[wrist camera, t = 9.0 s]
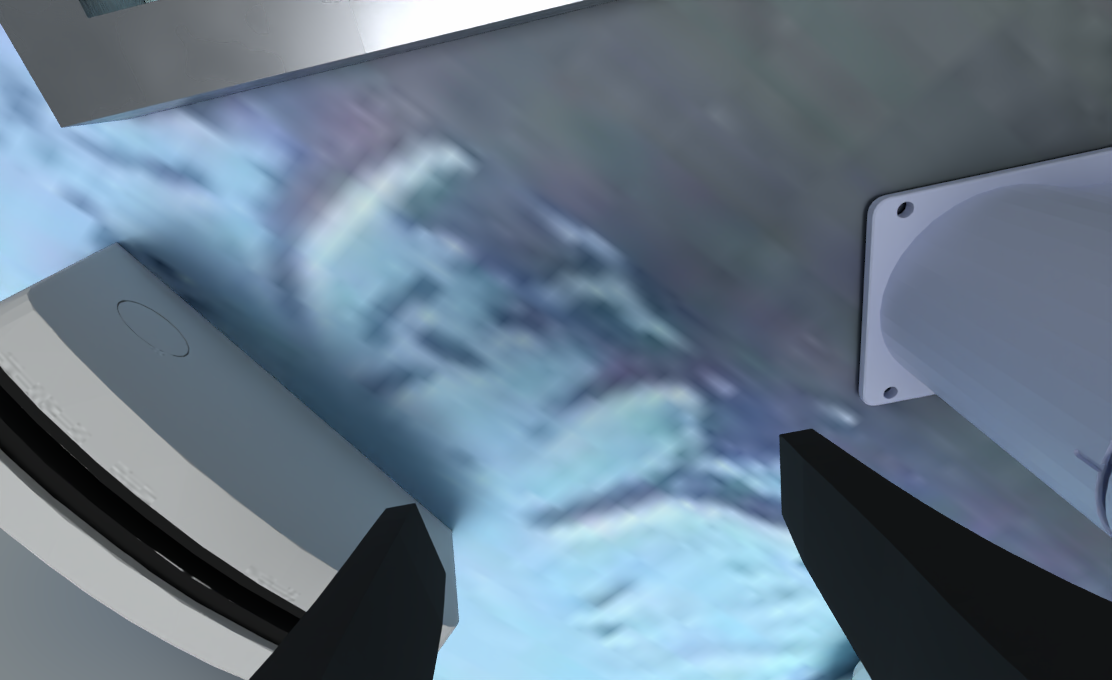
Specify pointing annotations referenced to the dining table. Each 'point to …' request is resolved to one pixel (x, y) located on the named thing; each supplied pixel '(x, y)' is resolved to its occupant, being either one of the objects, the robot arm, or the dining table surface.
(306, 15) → the grey peg hole base
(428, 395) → the dining table surface
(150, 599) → the grey piece
